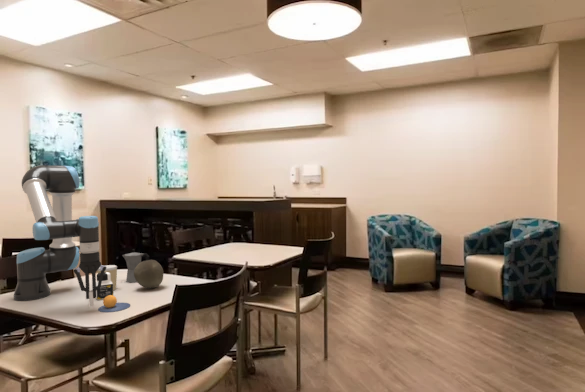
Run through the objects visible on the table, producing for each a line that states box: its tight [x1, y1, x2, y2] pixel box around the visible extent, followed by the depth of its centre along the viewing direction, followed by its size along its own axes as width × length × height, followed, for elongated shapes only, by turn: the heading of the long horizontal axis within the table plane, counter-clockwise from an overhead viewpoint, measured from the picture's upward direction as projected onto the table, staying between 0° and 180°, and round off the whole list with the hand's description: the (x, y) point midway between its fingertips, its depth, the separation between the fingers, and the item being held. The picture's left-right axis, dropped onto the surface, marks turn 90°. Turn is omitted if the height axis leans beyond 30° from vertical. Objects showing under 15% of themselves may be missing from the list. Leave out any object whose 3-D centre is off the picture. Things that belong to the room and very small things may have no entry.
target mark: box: [97, 302, 131, 313], centre depth 175 cm, size 13×13×1 cm
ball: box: [102, 294, 118, 308], centre depth 175 cm, size 6×6×6 cm
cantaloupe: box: [134, 259, 164, 290], centre depth 206 cm, size 14×14×15 cm
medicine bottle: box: [95, 272, 114, 301], centre depth 192 cm, size 7×7×12 cm
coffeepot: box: [121, 248, 150, 284], centre depth 224 cm, size 15×9×18 cm, turn 88°
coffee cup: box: [97, 264, 118, 291], centre depth 206 cm, size 9×9×12 cm
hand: (91, 305), depth 172 cm, fingers closed
